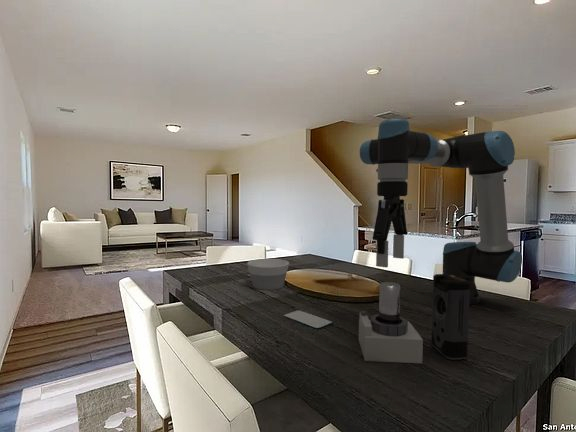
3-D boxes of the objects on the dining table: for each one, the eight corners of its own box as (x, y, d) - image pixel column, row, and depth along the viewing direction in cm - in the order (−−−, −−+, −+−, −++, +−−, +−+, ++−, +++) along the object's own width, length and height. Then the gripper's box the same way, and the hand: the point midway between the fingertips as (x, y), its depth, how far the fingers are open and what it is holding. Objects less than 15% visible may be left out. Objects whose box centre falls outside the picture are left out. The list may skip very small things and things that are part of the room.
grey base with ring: (408, 342, 94) (409, 310, 94) (422, 363, 82) (423, 327, 82) (358, 340, 95) (359, 308, 95) (364, 360, 83) (365, 325, 83)
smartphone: (282, 317, 114) (317, 331, 102) (282, 315, 114) (317, 328, 102) (299, 312, 119) (333, 324, 108) (299, 309, 119) (333, 322, 107)
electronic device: (428, 344, 93) (431, 273, 92) (449, 343, 93) (451, 273, 92) (447, 360, 84) (450, 282, 82) (470, 360, 84) (473, 282, 83)
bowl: (296, 284, 156) (297, 261, 155) (273, 294, 140) (273, 268, 139) (263, 278, 166) (263, 257, 165) (238, 287, 150) (238, 263, 149)
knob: (382, 323, 92) (383, 281, 91) (401, 328, 89) (403, 284, 88) (375, 329, 88) (376, 285, 87) (395, 334, 85) (397, 288, 84)
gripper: (392, 182, 98) (391, 253, 100) (359, 179, 78) (358, 268, 79) (419, 182, 94) (417, 256, 96) (391, 178, 74) (389, 273, 75)
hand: (390, 262), depth 87 cm, fingers open, 13 cm apart
